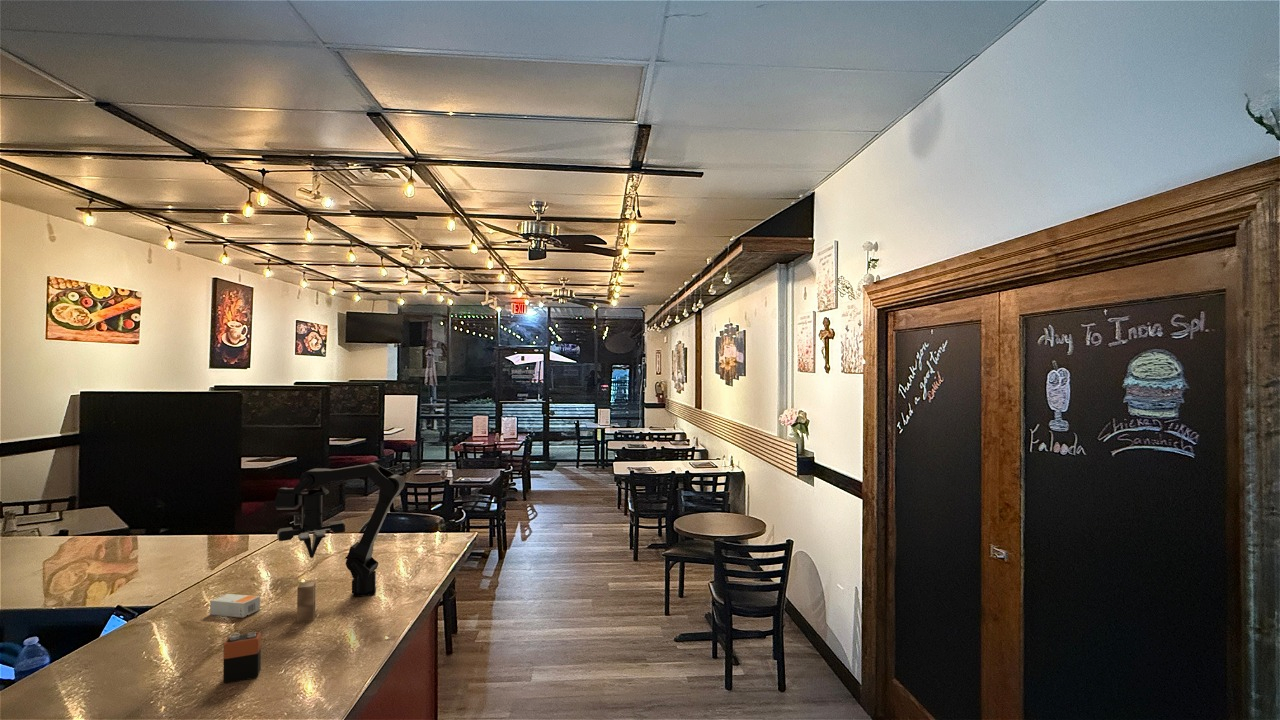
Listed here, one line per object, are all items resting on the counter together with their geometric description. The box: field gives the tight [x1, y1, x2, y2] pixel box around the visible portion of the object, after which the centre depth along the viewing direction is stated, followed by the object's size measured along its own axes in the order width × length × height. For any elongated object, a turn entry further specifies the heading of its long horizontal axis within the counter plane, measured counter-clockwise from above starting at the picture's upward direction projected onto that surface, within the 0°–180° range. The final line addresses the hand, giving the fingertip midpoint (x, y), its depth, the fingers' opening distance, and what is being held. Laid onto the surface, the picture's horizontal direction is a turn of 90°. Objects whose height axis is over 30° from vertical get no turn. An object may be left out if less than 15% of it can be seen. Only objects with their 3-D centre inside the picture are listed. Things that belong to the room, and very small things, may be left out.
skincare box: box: [209, 593, 261, 618], centre depth 178 cm, size 6×4×12 cm
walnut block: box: [296, 581, 317, 624], centre depth 172 cm, size 4×4×10 cm
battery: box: [222, 631, 262, 684], centre depth 140 cm, size 4×7×10 cm, turn 114°
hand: (311, 557), depth 192 cm, fingers closed
